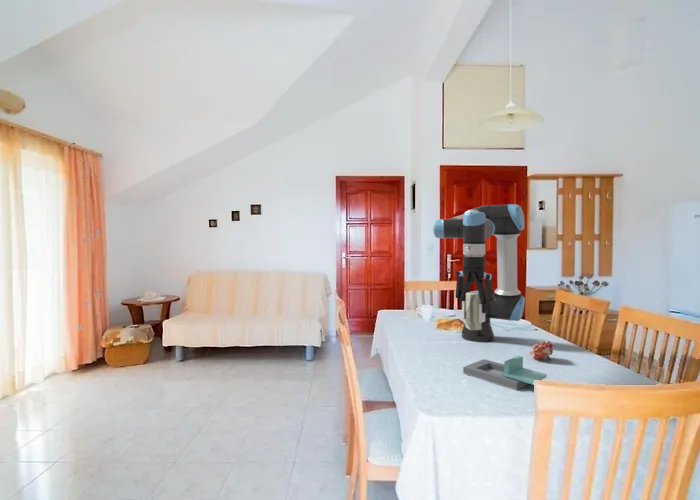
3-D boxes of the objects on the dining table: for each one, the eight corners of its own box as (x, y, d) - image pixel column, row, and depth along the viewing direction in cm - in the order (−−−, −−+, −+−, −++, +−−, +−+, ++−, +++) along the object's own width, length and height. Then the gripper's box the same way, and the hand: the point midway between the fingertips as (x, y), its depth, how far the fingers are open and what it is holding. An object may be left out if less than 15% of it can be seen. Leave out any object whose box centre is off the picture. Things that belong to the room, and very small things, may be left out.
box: (464, 327, 142) (464, 292, 141) (476, 326, 142) (476, 291, 142) (470, 330, 136) (469, 294, 136) (482, 330, 137) (482, 293, 136)
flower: (557, 354, 160) (545, 336, 163) (562, 355, 152) (548, 337, 154) (536, 365, 162) (524, 348, 164) (539, 368, 153) (527, 350, 156)
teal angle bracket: (503, 375, 133) (503, 361, 132) (517, 369, 139) (518, 355, 139) (532, 384, 125) (533, 369, 125) (546, 377, 131) (546, 362, 131)
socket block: (463, 373, 143) (463, 367, 142) (484, 365, 152) (484, 359, 151) (516, 390, 127) (516, 382, 127) (535, 379, 136) (536, 373, 136)
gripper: (445, 255, 143) (444, 317, 144) (492, 257, 128) (492, 327, 129) (457, 254, 148) (457, 314, 149) (505, 256, 133) (504, 323, 134)
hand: (473, 320), depth 139 cm, fingers closed on box, 6 cm apart
